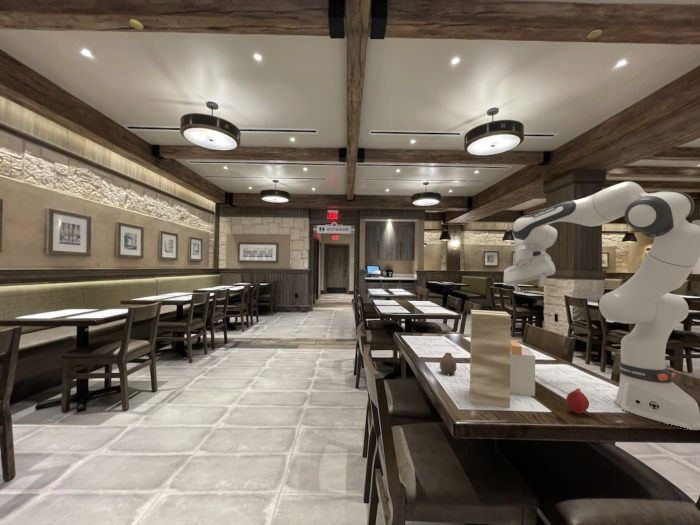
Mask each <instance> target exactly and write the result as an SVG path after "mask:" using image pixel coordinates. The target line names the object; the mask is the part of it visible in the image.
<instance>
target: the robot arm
mask: <svg viewBox="0 0 700 525" xmlns="http://www.w3.org/2000/svg"><path fill="white" fill-rule="evenodd" d="M694 210H695V202H694V199H693V198H692V197H691V195H689V194H687V193H685V192H682V191H680V190H679V191H678V190H677V191H676V190H653V191H651V192H649V193H648V192H646V191H645V190H644V189H643V187H642V186H641V185H640V184H638V183H636V182H634V181H623V182H620V183H616V184H614V185H611V186H609V187H606V188H604V189H601V190H599V191H598V192H595V193H593V194H591V195H588V196H586V197H582V198H579V199H573V200H568V201H563V202H560V203H557V204H555V205H552V206H550V207H549V206H548V207H547V208H544V209H542V210H539V211H537V212H535V213H532V214H525V215H523V216H520V217H518V218H517V219H516V220H514V222H513V224H512V225H511V232H512V236H513V237H514V238H513V247H514V251H515V253H514V262H515V263H514V264H511V265H509V266H506V267H505V269H504V271H503V283H504V284H505V285H506V286H508V287H511V286H512V287H513V288H514V291H515V292H516V293H517V294H518V293H521V292H522V291H521V290H522V288H521V287H519V286H518V285H519V284H522V283H523V284H524V283H527V282H531V281H534V280H537V279H539V281H537V283H538V284H537V286H538V287H540V288H541V287H545V282H546V280H547V277H549V276H553V275H555V273H556V272H557V271H556V266H555V264H554V262H553V261H552V257H551V256H550V255H549V254H548V253H547V252H546V251H544V250H546V249H549V248H551V247H552V246H554V245H555V244H556V243H557V240H558V237H559V233H558V230H557V229H556V228H555V227H553V226H551V224H553V223H558V222H565V223H571V224H578V225H581V226H585V227H598V226H603V225H605V224H609V223H610V222H612V221H615V220H617V219H620V218H622V217H624V220H625V222H626V224H627V225H628V226H629V227H631V228H632V229H634V230H636V231H638V232H640V233H642V234H643V235H645V236H646V237H648V238H654V240H653V242H652V245H651V247H650V248H649V251H648V252H647V254H646V256H645V257H644V259H643V260H642V262H641V264H640V266H639V267H638V269H637V270H636V272H635V273H634V274H633V275H632V276H631V277H630V278H629V279H628V280H626V281H625V282H624V283H623V284H622V285H619V287H617V288H616V289H614V290H611V291H609V292H607V293H604V294H603V295H602V297H601V298H600V299H599V302H598V308H599V311H600V314H601V316H603V317H604V319H606V320H608V321H612V322H614V323H615V322H616V323H620V324H627V325H628V324H635V325H634V327H633V329H632V330H631V331H630V332H629V333H628V334H625V335H624V336H623V337H622V339H621V341H620V361H619V362H618V375H619V383H618V384H619V385H618V389H617V393H616V397H615V399H614V403H615V404H616V405H617V406H618V407H620V409H621V410H622V411H623V410H624V411H623V412H626V411H628V412H627V413H629V412H631V413H630V414H633V413H634V414H633V415H636V416H640V417H643V418H647V419H649V420H653V421H657V422H659V423H662V422H663V424H666V425H669V424H671V425H670V426H672V425H675V426H680V427H684V428H687V429H686V430H688V429H689V431H699V430H700V407H699V404H698V401H696V400H695V399H694V398H693V397H692V396H690V395H689V394H688V393H687V392H685V390H683V389H682V388H680V387H679V386H678V385H677V384H676V383H674V382H673V378H674V377H675V376H676V372H670V371H669V370H668V369H667V368H666V348H667V344H668V340H669V338H670V335H671V334H672V332H673V330H674V329H675V327H676V326H678V325H679V324H680V323H681V322H683V321H685V319H687V317H688V316H689V312H690V310H689V305H688V302H687V301H686V300H685V298H683V297H682V296H680V295H678V294H674V293H671V292H672V291H676V290H678V289H679V288H681V287H682V286H683V285H684V283H685V282H686V280H687V279H688V277H689V275H690V274H691V272H692V271H693V269H694V268H695V266H696V264H697V263H698V261H699V259H700V225H697V224H695V223H692V222H690V221H688V220H687V219H689V217H690V216H691V215H692V213H693V212H694ZM675 426H674V427H675Z"/></svg>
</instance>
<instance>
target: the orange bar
mask: <svg viewBox="0 0 700 525" xmlns="http://www.w3.org/2000/svg"><path fill="white" fill-rule="evenodd" d="M522 347H523V346H522V345H521V344H520V343H519V342H518V340H517V339H516V338H515V337H514V336H511V343H510V351H511V353H512V354H515V355H522Z"/></svg>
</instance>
